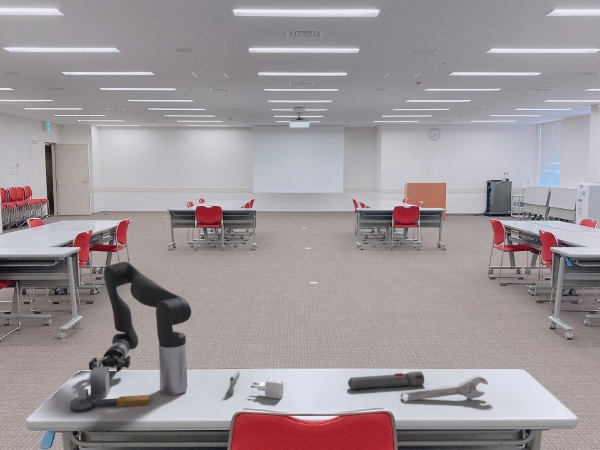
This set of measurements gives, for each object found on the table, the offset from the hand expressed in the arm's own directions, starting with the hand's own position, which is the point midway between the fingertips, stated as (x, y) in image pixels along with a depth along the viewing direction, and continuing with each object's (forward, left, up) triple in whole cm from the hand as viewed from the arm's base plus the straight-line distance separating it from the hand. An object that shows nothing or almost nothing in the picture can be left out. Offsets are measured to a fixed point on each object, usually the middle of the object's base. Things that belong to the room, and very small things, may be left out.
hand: (105, 370), depth 176 cm
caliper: (-47, +4, -7) cm, 48 cm away
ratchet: (-5, +16, -6) cm, 18 cm away
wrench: (-118, +27, -6) cm, 121 cm away
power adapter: (-58, +16, -6) cm, 61 cm away
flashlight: (-102, +15, -7) cm, 103 cm away
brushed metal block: (0, +7, -6) cm, 9 cm away
